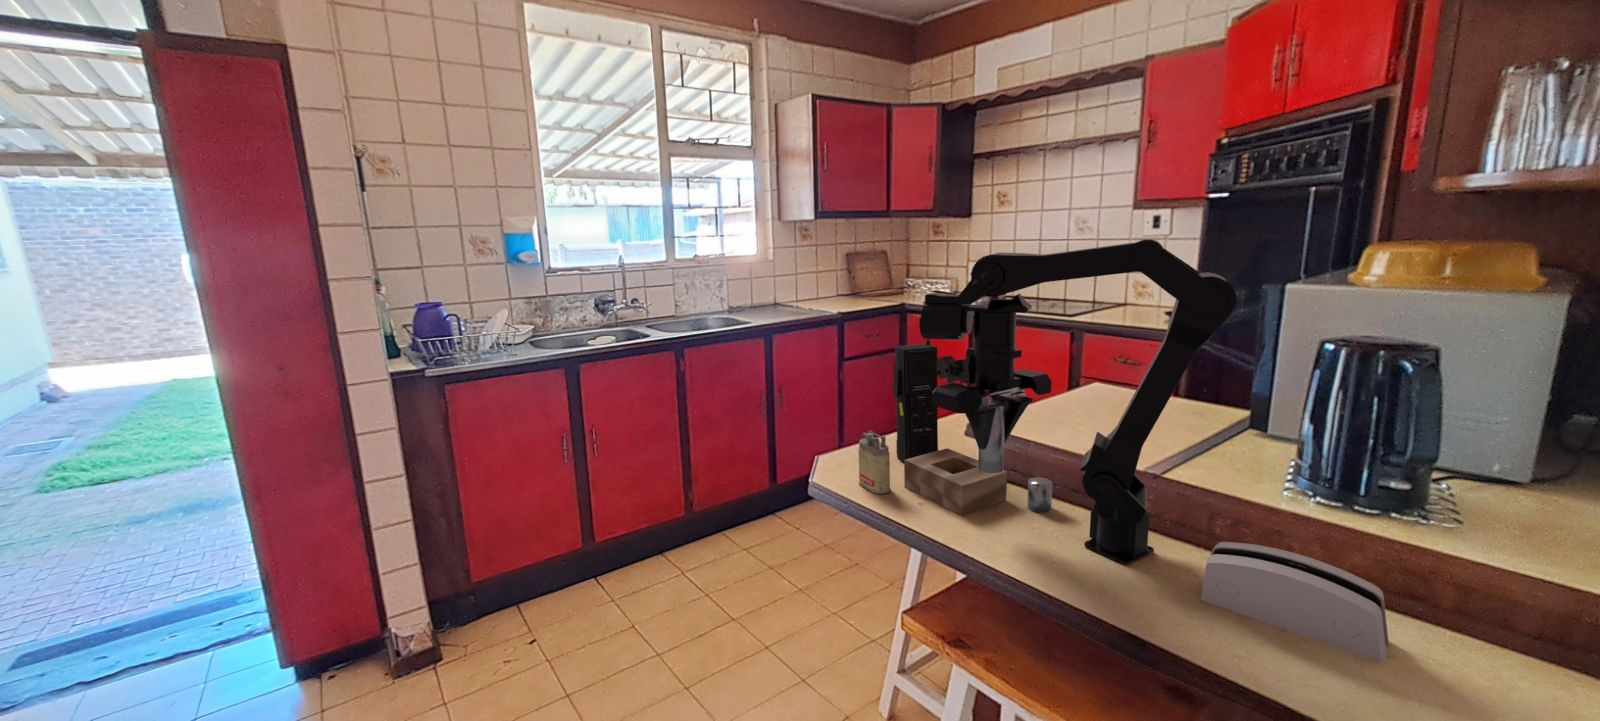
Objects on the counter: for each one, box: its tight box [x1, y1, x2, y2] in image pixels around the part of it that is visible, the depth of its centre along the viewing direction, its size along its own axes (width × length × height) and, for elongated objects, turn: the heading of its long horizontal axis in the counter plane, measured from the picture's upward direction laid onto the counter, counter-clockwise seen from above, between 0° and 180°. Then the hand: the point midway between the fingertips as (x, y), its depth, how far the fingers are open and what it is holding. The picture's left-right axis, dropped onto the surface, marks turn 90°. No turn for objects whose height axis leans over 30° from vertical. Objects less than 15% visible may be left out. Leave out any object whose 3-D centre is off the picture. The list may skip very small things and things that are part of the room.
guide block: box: [903, 448, 1008, 516], centre depth 108 cm, size 14×10×5 cm
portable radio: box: [893, 339, 939, 463], centre depth 122 cm, size 8×6×25 cm
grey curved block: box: [1200, 541, 1390, 664], centre depth 70 cm, size 17×5×10 cm, turn 42°
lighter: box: [858, 430, 891, 495], centre depth 112 cm, size 7×4×10 cm, turn 28°
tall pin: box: [977, 400, 1006, 473], centre depth 94 cm, size 4×4×10 cm
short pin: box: [1026, 476, 1053, 514], centre depth 102 cm, size 4×4×4 cm
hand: (991, 446), depth 94 cm, fingers closed on tall pin, 4 cm apart
